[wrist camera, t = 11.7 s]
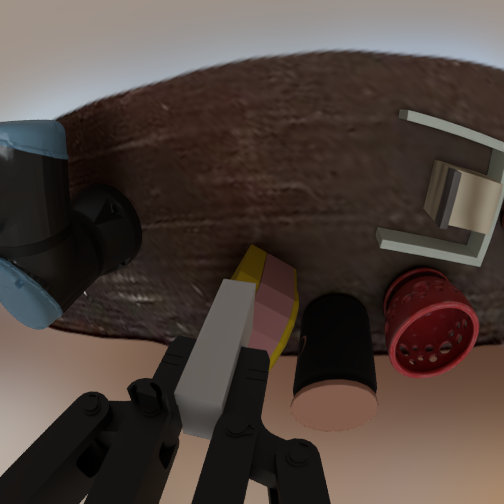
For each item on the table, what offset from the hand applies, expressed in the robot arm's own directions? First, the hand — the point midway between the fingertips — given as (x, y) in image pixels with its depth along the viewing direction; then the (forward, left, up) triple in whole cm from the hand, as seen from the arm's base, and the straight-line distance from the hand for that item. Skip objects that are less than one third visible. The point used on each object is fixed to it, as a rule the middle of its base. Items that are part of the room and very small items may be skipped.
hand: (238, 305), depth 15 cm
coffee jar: (+10, -22, -28) cm, 37 cm away
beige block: (+23, +2, -28) cm, 37 cm away
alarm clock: (-3, -18, -28) cm, 34 cm away
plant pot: (+22, -15, -28) cm, 39 cm away
